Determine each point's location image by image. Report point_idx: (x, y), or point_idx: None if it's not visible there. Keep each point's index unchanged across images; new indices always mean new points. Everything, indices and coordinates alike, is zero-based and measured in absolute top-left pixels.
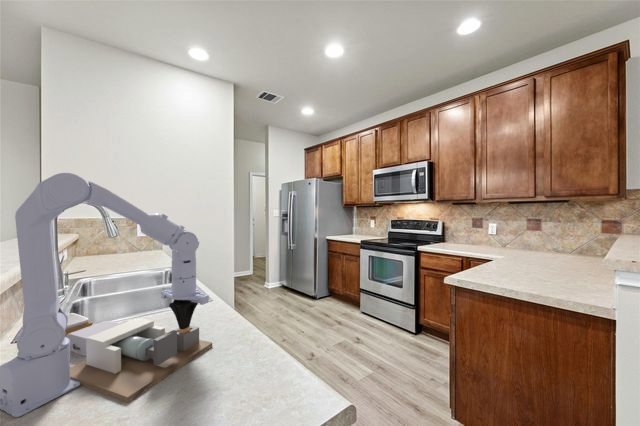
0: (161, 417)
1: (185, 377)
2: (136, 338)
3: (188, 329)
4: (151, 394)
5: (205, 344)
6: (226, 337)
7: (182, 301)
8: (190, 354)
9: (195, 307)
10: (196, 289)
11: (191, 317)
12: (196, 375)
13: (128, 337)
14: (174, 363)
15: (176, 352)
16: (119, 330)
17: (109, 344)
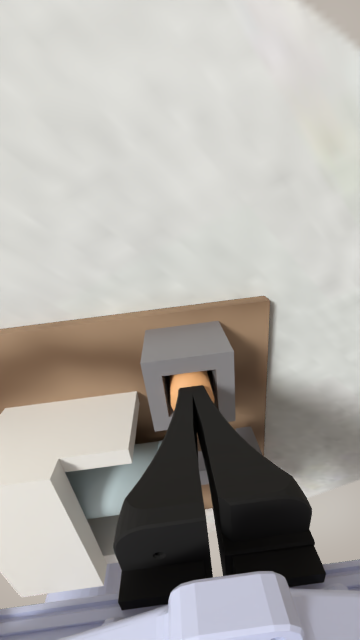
0: (344, 481)
1: (304, 419)
2: (120, 510)
3: (212, 391)
4: (280, 468)
5: (254, 321)
6: (268, 212)
7: (206, 575)
8: (257, 381)
9: (259, 454)
10: (268, 638)
11: (219, 412)
12: (325, 405)
13: (86, 516)
14: (251, 422)
15: (252, 432)
16: (44, 554)
17: (102, 555)
